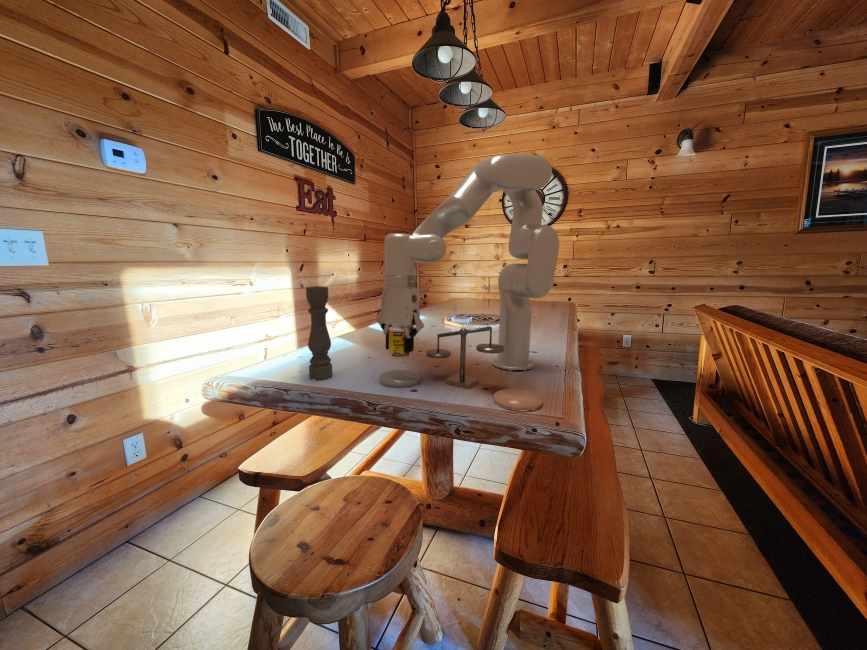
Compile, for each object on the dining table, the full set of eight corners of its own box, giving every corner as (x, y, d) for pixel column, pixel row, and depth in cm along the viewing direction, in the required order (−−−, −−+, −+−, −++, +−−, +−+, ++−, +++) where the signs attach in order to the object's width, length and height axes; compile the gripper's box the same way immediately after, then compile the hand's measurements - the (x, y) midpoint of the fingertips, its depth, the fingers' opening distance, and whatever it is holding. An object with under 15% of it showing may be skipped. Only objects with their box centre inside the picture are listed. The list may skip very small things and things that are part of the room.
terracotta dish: (504, 390, 94) (504, 385, 94) (547, 399, 88) (548, 394, 88) (486, 404, 85) (486, 399, 85) (532, 415, 79) (533, 410, 79)
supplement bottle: (390, 360, 96) (390, 321, 94) (387, 354, 101) (387, 318, 99) (411, 359, 97) (411, 320, 95) (407, 353, 102) (407, 317, 100)
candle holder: (306, 380, 100) (301, 288, 95) (313, 373, 106) (308, 286, 101) (329, 380, 100) (325, 288, 95) (334, 373, 106) (331, 286, 101)
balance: (434, 372, 108) (434, 317, 105) (506, 387, 96) (509, 325, 93) (420, 378, 102) (420, 320, 99) (495, 396, 90) (498, 330, 87)
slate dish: (396, 372, 108) (396, 368, 107) (427, 379, 102) (427, 374, 102) (370, 382, 99) (370, 378, 98) (403, 390, 93) (403, 386, 92)
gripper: (434, 283, 94) (433, 352, 97) (383, 280, 103) (384, 343, 106) (417, 285, 88) (417, 358, 91) (364, 281, 97) (366, 348, 100)
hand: (399, 349), depth 99 cm, fingers closed on supplement bottle, 5 cm apart
